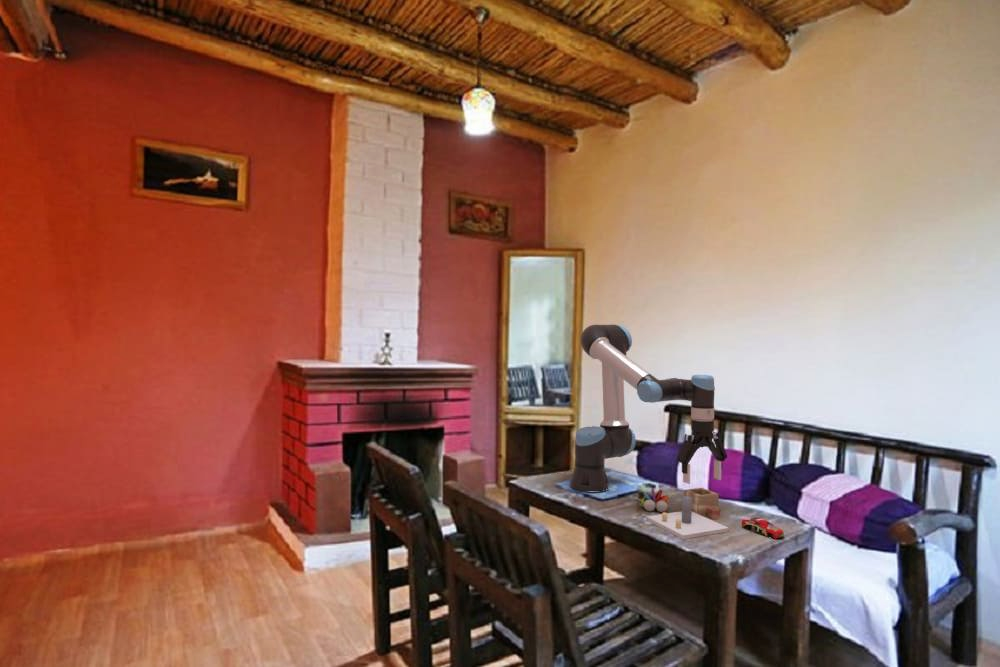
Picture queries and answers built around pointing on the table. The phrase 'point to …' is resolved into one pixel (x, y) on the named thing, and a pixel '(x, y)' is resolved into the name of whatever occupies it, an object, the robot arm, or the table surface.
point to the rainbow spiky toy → (655, 501)
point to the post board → (686, 528)
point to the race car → (762, 527)
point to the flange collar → (704, 502)
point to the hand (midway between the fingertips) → (702, 481)
